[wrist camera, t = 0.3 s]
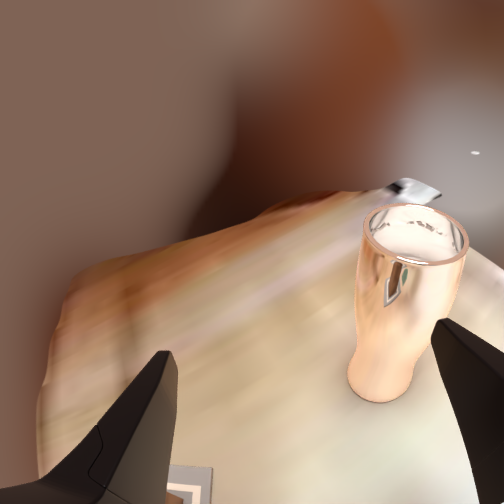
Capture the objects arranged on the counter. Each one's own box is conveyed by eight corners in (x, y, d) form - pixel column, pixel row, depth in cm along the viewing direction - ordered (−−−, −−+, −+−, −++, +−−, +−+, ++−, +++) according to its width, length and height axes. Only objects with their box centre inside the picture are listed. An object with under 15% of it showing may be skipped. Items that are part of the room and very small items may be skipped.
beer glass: (429, 384, 22) (493, 244, 13) (363, 420, 21) (411, 284, 12) (390, 334, 27) (419, 194, 19) (329, 360, 26) (337, 214, 18)
